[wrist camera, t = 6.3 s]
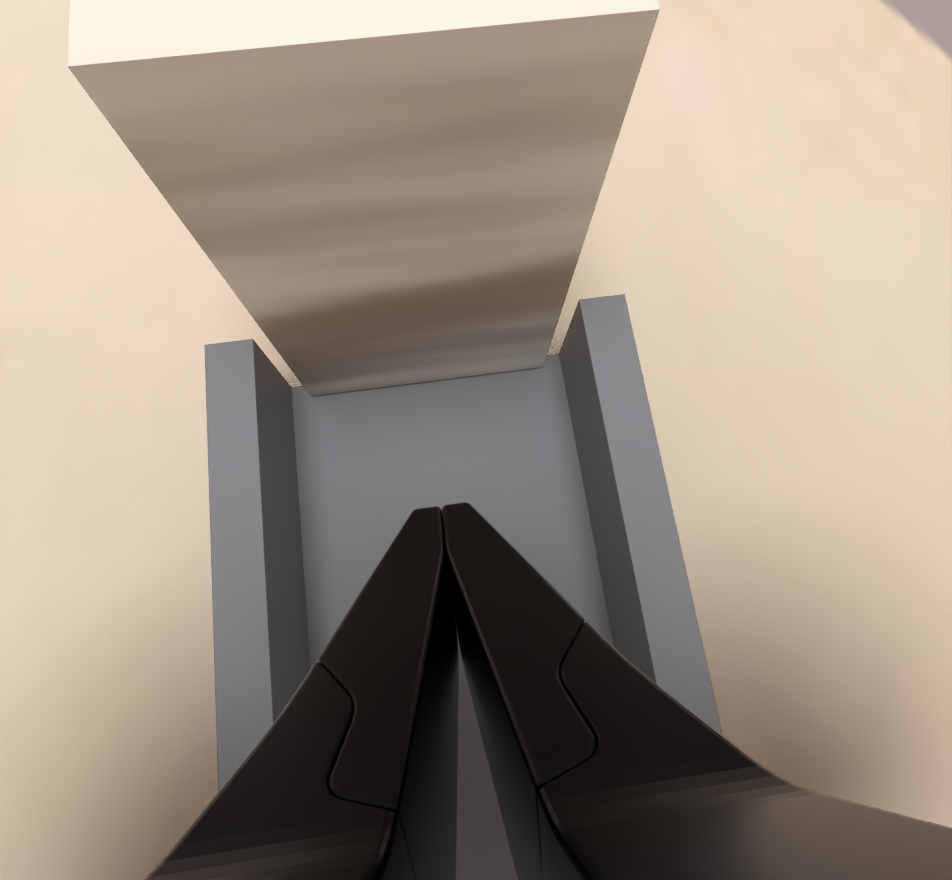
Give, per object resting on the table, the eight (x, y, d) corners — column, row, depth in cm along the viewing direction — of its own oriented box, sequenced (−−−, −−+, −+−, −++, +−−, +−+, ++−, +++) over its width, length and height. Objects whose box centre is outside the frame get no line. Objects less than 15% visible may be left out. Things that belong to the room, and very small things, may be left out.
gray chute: (730, 947, 14) (829, 1074, 10) (272, 1030, 13) (197, 1194, 9) (608, 358, 17) (646, 291, 13) (243, 404, 17) (180, 347, 13)
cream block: (542, 366, 16) (659, 9, 6) (310, 396, 16) (68, 66, 6) (518, 232, 17) (588, -251, 7) (300, 257, 17) (76, -213, 7)
